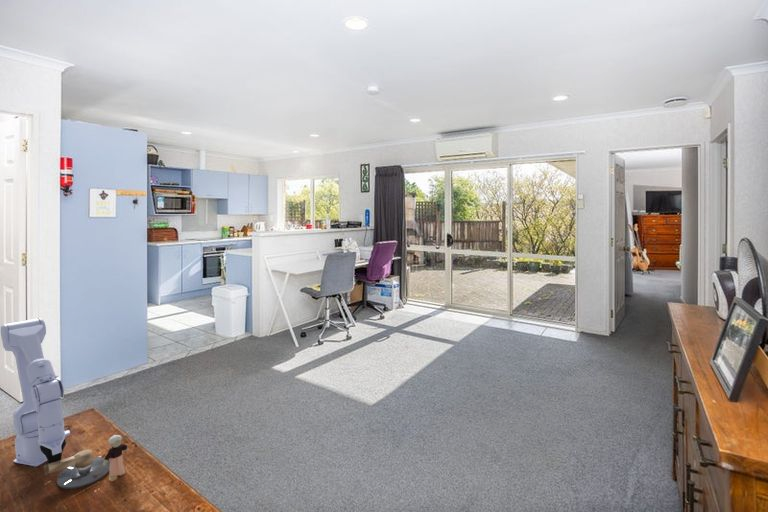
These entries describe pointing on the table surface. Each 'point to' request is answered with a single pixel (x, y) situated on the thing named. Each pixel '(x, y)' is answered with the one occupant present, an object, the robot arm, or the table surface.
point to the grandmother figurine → (115, 457)
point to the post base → (83, 474)
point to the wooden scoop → (71, 462)
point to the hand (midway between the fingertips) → (55, 466)
